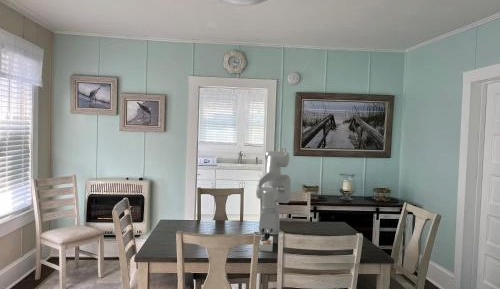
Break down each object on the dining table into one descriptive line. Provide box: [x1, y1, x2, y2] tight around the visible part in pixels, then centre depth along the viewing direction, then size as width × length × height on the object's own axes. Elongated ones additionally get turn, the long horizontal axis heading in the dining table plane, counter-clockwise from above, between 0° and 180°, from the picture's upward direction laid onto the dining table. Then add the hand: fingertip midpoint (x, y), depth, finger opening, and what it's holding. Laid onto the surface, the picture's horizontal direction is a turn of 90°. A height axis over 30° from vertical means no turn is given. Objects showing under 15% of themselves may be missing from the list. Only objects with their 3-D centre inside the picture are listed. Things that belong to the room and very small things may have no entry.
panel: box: [258, 235, 274, 253], centre depth 243 cm, size 19×10×4 cm, turn 176°
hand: (267, 239), depth 237 cm, fingers closed
